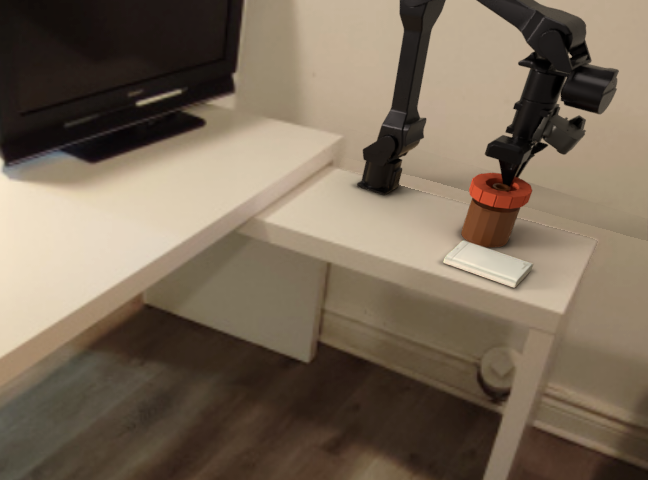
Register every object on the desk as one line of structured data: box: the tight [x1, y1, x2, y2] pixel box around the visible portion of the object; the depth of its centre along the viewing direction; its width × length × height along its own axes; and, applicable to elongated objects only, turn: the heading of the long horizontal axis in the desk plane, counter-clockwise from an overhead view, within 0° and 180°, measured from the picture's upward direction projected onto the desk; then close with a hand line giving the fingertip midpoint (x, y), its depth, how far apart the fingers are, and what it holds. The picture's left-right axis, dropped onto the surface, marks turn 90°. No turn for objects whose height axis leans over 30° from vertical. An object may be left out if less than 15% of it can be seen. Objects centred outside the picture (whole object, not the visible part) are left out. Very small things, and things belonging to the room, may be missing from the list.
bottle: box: [460, 183, 521, 249], centre depth 144 cm, size 8×8×10 cm
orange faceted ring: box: [468, 172, 533, 209], centre depth 141 cm, size 10×10×2 cm
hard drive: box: [443, 239, 534, 289], centre depth 138 cm, size 2×8×12 cm
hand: (509, 184), depth 143 cm, fingers closed on orange faceted ring, 2 cm apart
